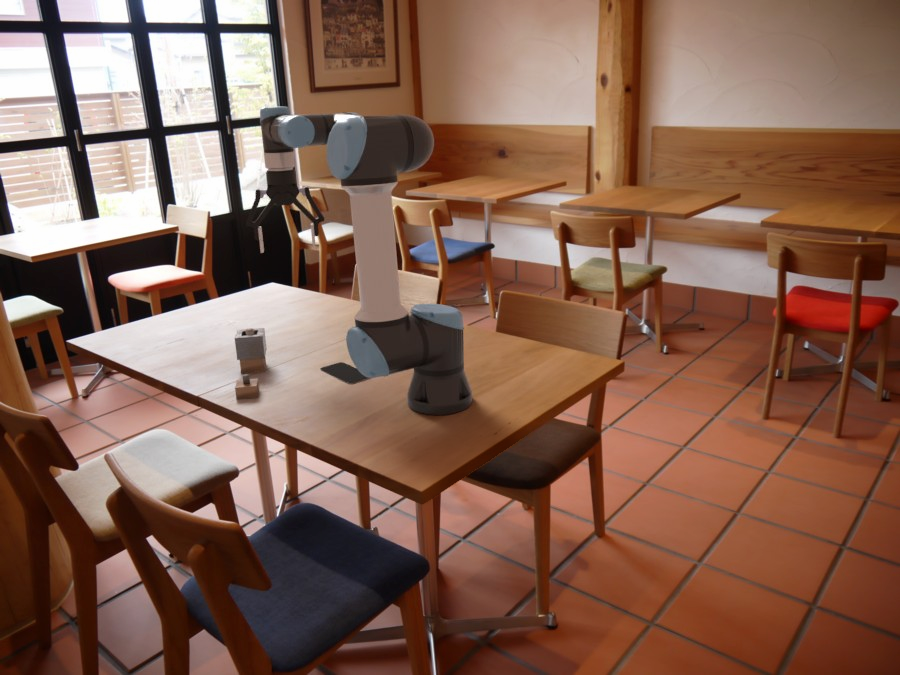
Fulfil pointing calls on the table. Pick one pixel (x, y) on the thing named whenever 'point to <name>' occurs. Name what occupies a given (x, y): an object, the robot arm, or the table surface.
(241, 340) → the grey hollow square block
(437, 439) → the table surface
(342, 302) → the table surface
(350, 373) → the smartphone
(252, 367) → the wooden peg stand
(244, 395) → the block
